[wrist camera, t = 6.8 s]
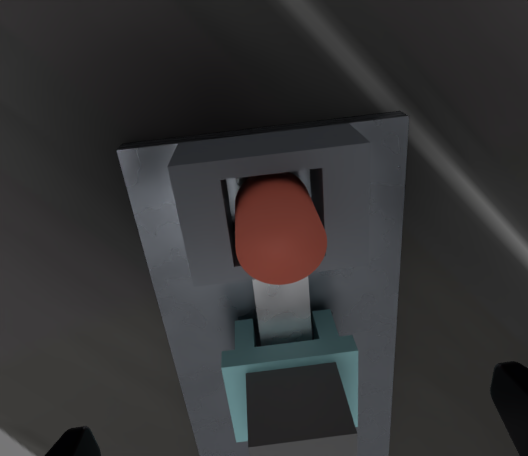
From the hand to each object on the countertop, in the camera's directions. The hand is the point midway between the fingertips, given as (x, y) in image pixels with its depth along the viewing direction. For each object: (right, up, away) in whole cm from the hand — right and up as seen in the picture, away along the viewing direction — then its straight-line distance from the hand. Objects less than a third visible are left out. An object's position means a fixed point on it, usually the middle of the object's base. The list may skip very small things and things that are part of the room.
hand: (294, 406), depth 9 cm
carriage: (+1, -3, +13) cm, 13 cm away
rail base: (+1, -5, +15) cm, 16 cm away
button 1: (0, +5, +7) cm, 9 cm away
